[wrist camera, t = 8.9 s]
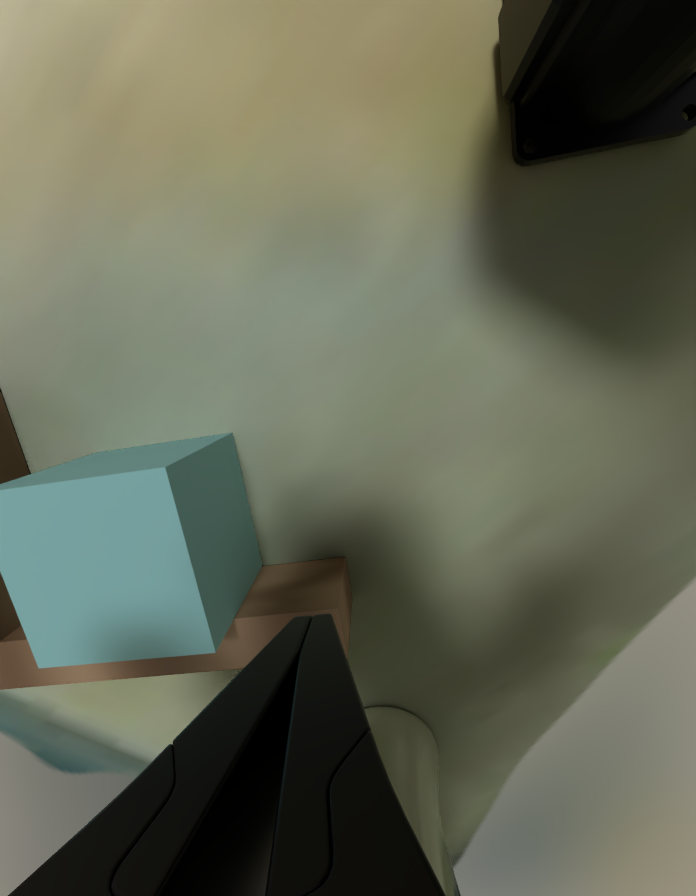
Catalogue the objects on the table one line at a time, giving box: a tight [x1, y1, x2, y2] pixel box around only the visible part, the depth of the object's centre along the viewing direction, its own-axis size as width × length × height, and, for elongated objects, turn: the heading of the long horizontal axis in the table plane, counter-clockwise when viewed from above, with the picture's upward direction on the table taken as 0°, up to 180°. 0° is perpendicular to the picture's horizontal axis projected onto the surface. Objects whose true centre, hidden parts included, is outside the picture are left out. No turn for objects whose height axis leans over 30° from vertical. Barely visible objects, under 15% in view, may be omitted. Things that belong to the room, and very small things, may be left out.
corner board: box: [0, 391, 352, 690], centre depth 17 cm, size 17×13×4 cm
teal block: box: [0, 433, 262, 668], centre depth 16 cm, size 7×7×6 cm
